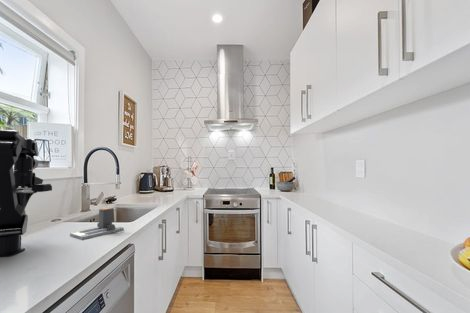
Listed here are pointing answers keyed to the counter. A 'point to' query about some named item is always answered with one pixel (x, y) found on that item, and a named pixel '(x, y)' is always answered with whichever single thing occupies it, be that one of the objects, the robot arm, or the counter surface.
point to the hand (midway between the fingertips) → (22, 210)
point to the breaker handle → (105, 217)
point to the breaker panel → (96, 231)
